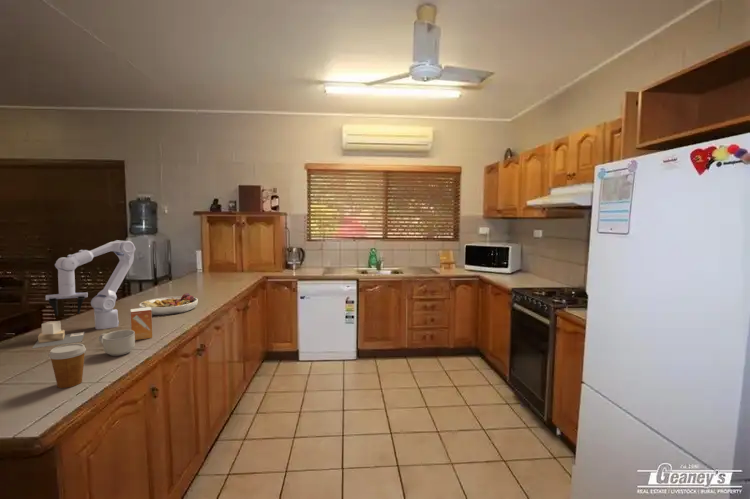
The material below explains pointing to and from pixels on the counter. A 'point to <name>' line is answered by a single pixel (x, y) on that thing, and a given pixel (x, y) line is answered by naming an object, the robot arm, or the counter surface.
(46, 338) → the oak base brick
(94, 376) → the counter surface
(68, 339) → the board
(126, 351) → the teacup
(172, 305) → the bowl
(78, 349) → the disposable coffee cup
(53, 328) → the cream cube
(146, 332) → the small box
